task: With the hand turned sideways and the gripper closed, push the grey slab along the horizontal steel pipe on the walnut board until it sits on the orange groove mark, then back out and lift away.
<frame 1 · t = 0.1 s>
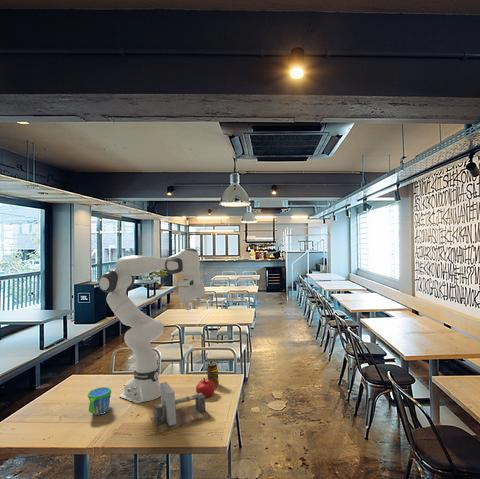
hand: (193, 307, 178), 48 cm above the table, tool pointing down, fingers open, 8 cm apart
condiment: (212, 386, 198), on the table
pomegranate: (205, 395, 187), on the table
pipe rig: (180, 418, 164), on the table
snack cup: (100, 412, 174), on the table
grey slab: (167, 403, 161), point 9 cm above the table, slide at 0.0 cm
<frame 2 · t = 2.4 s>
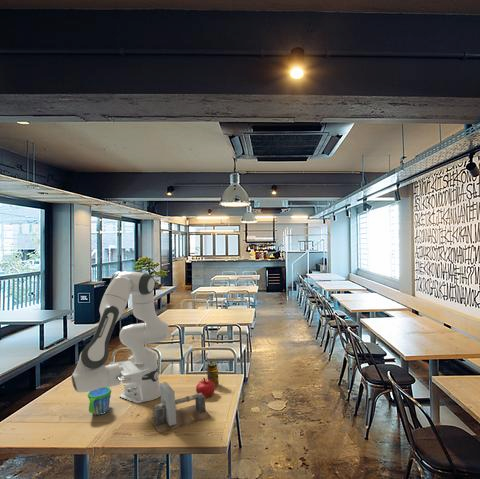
hand: (146, 367, 157), 27 cm above the table, tool horizontal, fingers open, 8 cm apart
nothing on the table moved.
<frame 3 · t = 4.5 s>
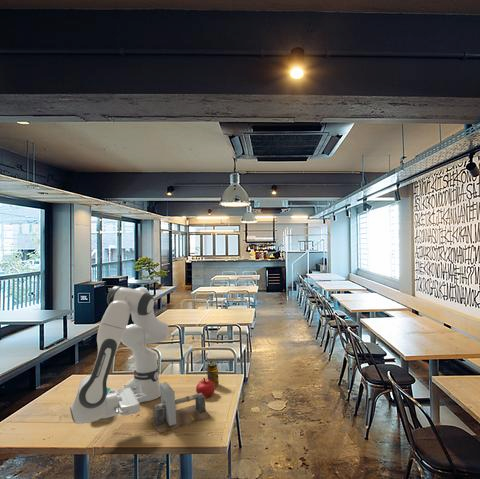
hand: (146, 396, 157), 14 cm above the table, tool horizontal, fingers closed
nothing on the table moved.
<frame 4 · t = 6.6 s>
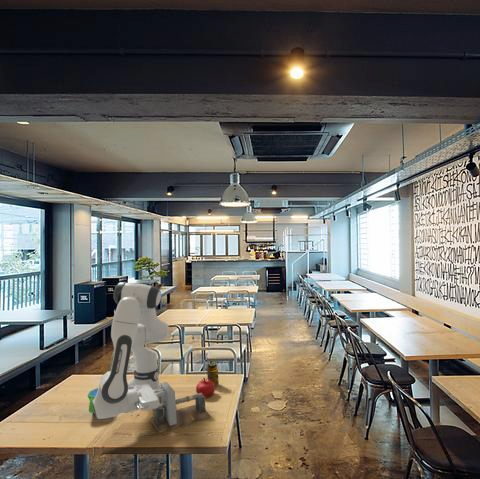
hand: (164, 392, 161), 14 cm above the table, tool horizontal, fingers closed, pressing on grey slab
grey slab: (168, 402, 161), point 9 cm above the table, slide at 0.2 cm, touching gripper
everything else where it was.
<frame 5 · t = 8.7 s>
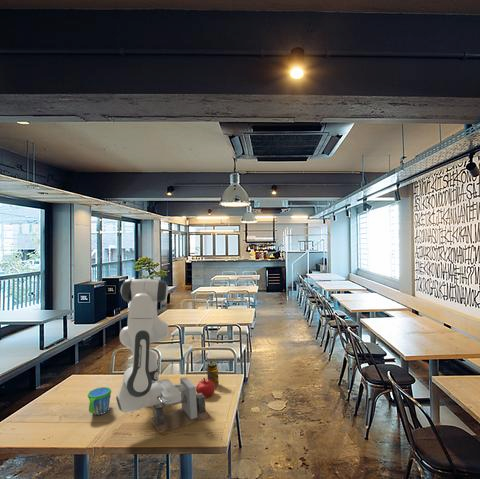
hand: (184, 386, 165), 14 cm above the table, tool horizontal, fingers closed, pressing on grey slab
grey slab: (188, 397, 166), point 9 cm above the table, slide at 9.8 cm, touching gripper
everything else where it was.
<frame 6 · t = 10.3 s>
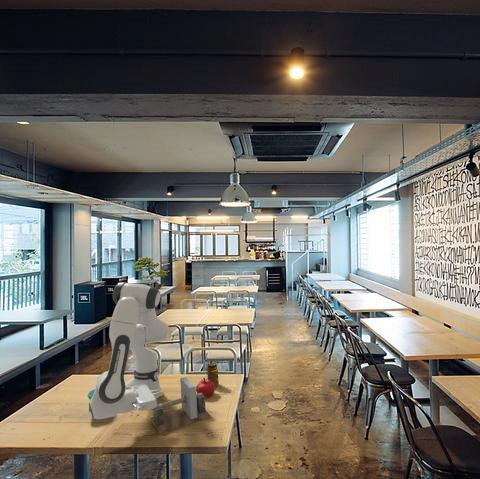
hand: (161, 392, 160), 14 cm above the table, tool horizontal, fingers closed
grey slab: (188, 397, 166), point 9 cm above the table, slide at 9.9 cm
everything else where it was.
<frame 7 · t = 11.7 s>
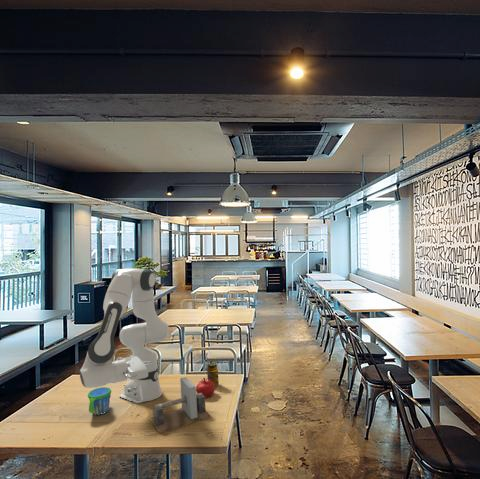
hand: (153, 363, 159), 28 cm above the table, tool horizontal, fingers closed
nothing on the table moved.
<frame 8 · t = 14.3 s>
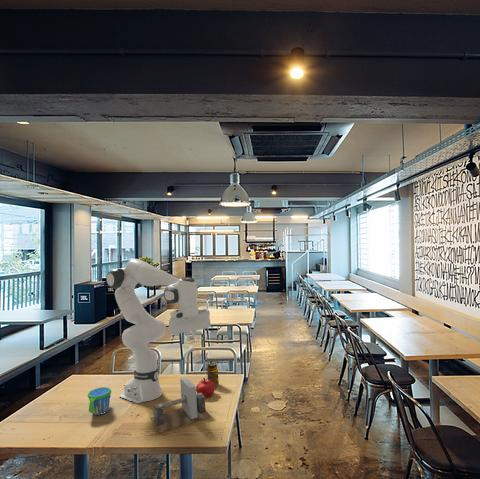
hand: (190, 340, 170), 34 cm above the table, tool pointing down, fingers closed
nothing on the table moved.
at the end: grey slab slide at 9.9 cm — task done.
